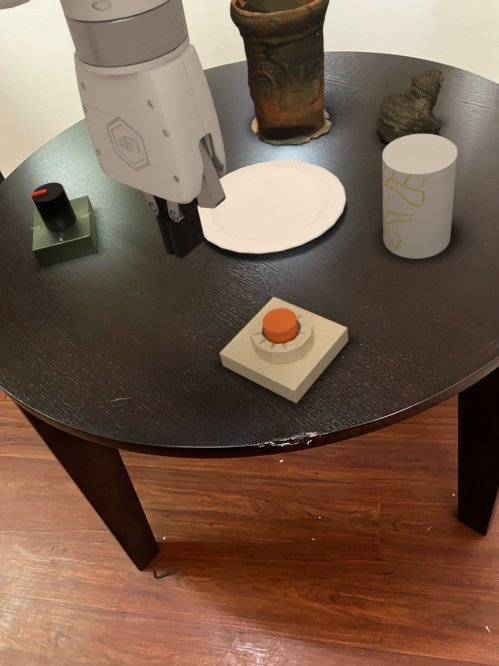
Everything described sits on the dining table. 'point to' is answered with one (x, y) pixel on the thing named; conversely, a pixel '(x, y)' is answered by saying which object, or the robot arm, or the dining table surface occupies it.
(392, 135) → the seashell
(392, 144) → the white patterned cylinder
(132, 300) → the dining table surface
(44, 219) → the dial
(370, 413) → the dining table surface
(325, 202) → the plate
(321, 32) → the vessel
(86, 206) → the dial panel
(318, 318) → the square push button base
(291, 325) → the button
